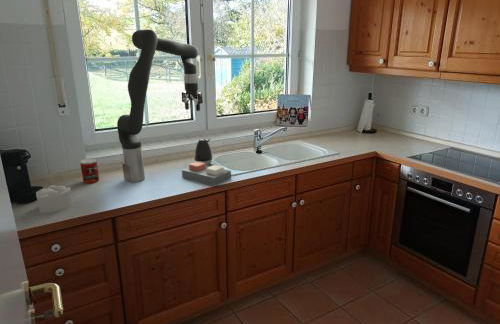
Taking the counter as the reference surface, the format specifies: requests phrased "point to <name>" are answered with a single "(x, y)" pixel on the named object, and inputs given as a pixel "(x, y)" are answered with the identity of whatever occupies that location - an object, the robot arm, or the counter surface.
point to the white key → (215, 170)
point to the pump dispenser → (203, 152)
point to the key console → (206, 176)
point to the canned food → (89, 171)
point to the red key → (197, 166)
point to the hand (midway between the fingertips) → (192, 110)
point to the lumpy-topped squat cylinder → (54, 199)
